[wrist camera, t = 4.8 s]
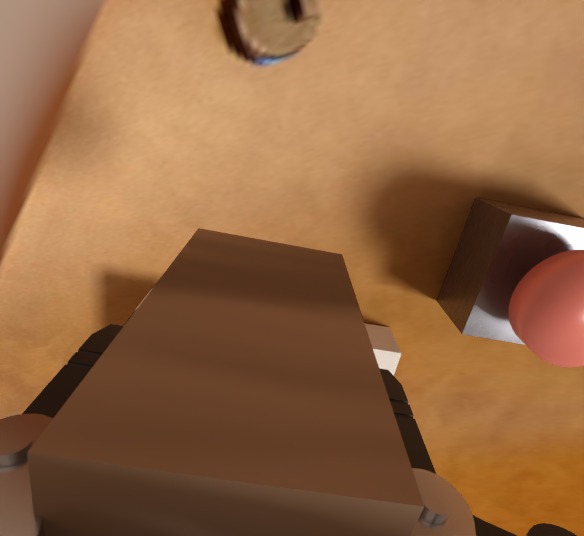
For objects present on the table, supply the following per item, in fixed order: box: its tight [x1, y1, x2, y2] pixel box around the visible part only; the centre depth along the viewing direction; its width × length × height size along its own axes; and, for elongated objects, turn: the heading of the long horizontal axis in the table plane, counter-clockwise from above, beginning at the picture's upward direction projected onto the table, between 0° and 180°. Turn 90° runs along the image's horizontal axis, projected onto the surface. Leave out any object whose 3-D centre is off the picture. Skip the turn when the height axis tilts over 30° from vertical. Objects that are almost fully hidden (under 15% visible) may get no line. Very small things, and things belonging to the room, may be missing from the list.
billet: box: [27, 229, 424, 536], centre depth 9 cm, size 4×4×8 cm
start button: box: [508, 249, 584, 367], centre depth 18 cm, size 6×6×2 cm
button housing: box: [437, 198, 584, 344], centre depth 22 cm, size 7×7×4 cm
